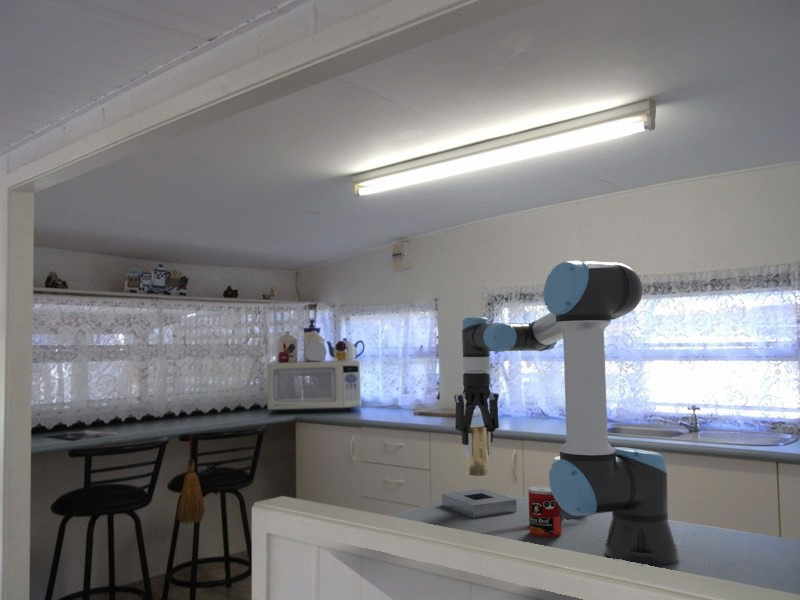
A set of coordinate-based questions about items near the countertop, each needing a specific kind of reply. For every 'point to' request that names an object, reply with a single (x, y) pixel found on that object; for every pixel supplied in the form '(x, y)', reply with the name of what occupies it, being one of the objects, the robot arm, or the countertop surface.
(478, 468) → the cream rounded cylinder
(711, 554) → the countertop surface
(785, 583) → the countertop surface
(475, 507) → the housing
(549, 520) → the canned food
